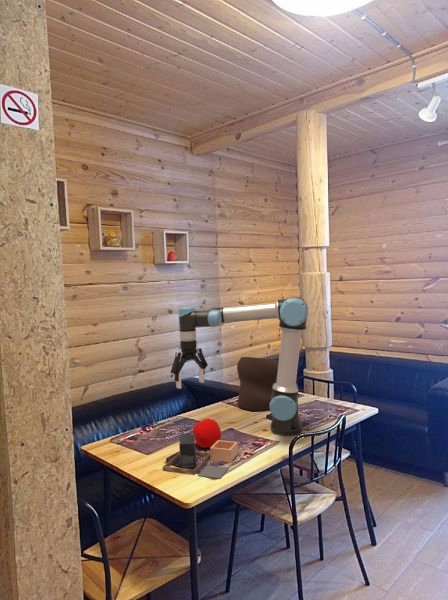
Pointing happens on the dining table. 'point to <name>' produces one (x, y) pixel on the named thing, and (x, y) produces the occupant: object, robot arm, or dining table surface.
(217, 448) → the terracotta pot
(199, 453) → the tray
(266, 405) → the vase
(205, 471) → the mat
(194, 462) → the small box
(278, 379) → the robot arm
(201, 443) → the red round ball
